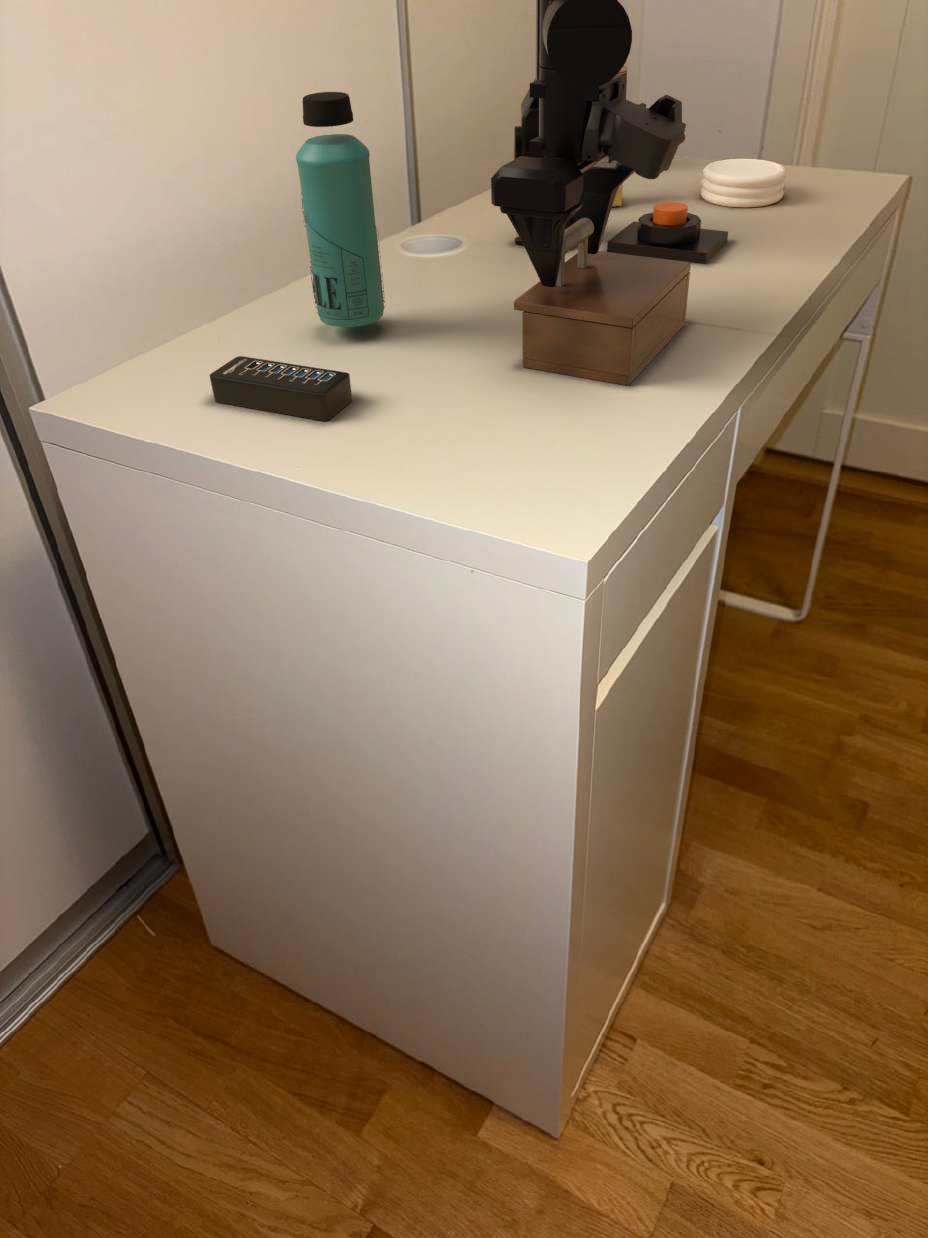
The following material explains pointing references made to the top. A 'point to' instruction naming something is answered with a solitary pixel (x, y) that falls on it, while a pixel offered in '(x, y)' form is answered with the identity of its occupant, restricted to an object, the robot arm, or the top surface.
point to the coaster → (743, 182)
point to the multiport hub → (282, 388)
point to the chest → (603, 341)
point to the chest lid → (602, 283)
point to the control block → (669, 240)
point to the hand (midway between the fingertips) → (571, 269)
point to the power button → (670, 213)
